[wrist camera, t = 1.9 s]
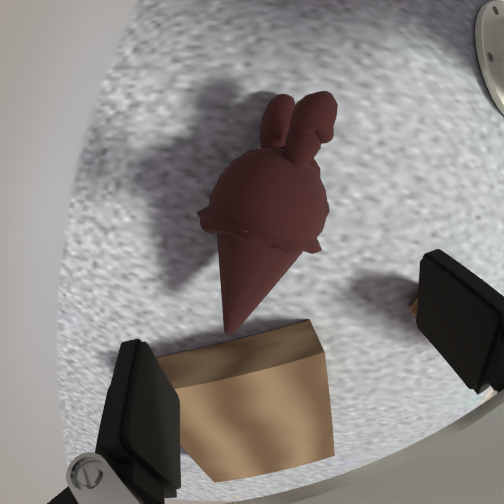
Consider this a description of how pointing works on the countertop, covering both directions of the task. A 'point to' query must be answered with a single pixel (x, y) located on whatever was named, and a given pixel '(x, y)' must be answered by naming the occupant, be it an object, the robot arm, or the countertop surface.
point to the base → (254, 403)
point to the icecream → (270, 203)
